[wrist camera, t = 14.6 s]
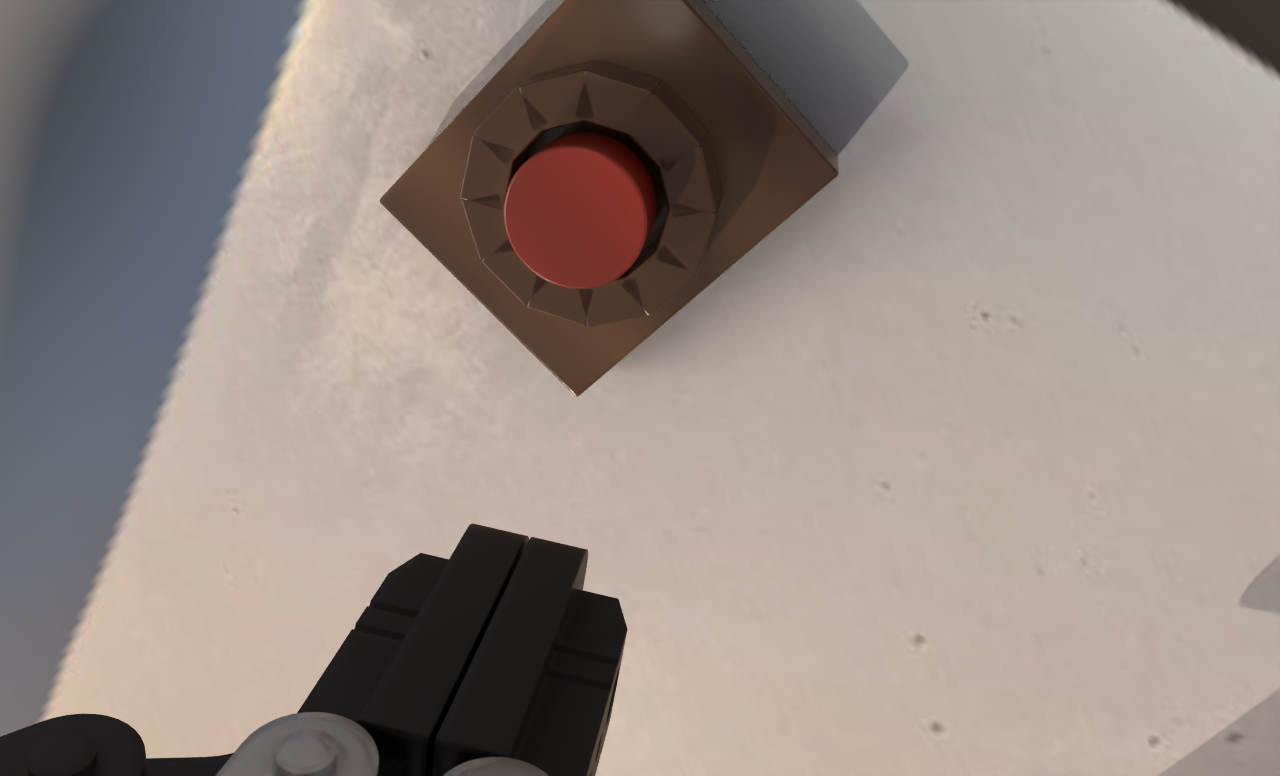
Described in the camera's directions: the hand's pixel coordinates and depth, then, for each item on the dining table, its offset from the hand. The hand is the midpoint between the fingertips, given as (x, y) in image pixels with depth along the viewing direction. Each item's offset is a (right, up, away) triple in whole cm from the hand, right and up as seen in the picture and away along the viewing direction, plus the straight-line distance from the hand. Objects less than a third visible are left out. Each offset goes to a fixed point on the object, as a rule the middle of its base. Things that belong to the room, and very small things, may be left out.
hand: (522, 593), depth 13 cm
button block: (+1, +9, +17) cm, 19 cm away
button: (0, +7, +14) cm, 16 cm away
